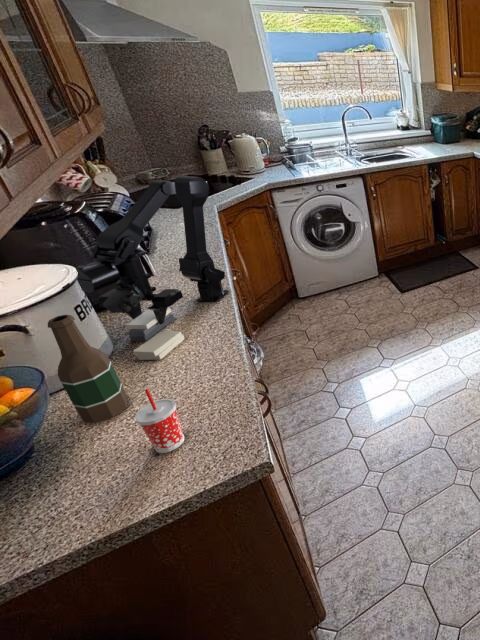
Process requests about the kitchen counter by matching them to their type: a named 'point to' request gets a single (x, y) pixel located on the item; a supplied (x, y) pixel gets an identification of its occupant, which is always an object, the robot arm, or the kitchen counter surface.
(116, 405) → the beer bottle
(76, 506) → the kitchen counter surface
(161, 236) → the kitchen counter surface
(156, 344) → the cream flat block
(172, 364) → the kitchen counter surface
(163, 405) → the beverage cup
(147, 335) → the dark grey rectangular block
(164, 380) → the kitchen counter surface
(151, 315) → the white book
